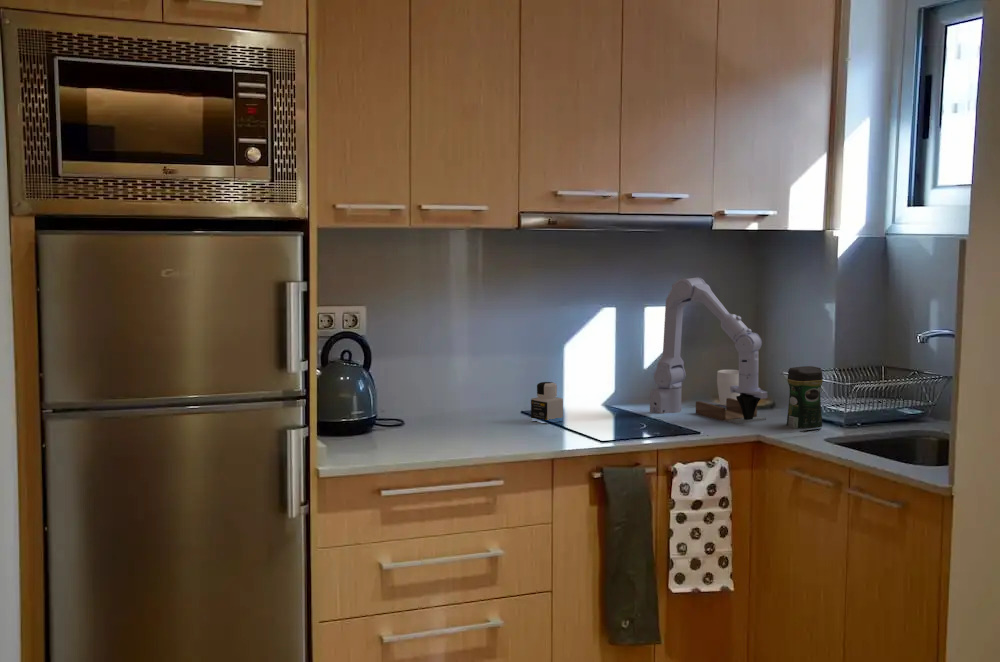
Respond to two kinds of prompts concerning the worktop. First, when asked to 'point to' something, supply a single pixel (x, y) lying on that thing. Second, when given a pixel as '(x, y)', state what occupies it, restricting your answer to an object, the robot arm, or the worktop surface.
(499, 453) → the worktop surface
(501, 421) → the worktop surface
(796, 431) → the worktop surface
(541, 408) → the medicine bottle
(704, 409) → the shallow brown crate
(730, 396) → the cup
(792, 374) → the coffee jar
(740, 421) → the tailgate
